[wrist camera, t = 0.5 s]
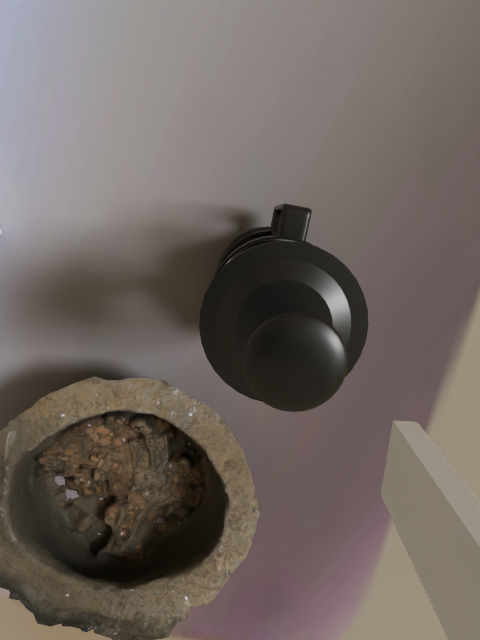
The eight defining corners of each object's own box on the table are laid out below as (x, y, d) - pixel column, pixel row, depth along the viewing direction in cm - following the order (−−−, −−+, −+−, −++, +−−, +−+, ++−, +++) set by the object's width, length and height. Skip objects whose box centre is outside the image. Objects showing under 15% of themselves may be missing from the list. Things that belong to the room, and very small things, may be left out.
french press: (306, 343, 40) (377, 503, 18) (208, 325, 40) (158, 466, 18) (335, 218, 38) (463, 224, 15) (230, 198, 37) (203, 174, 15)
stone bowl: (6, 547, 46) (-53, 621, 37) (40, 328, 42) (-16, 350, 33) (227, 595, 47) (223, 679, 38) (282, 383, 43) (292, 420, 34)
